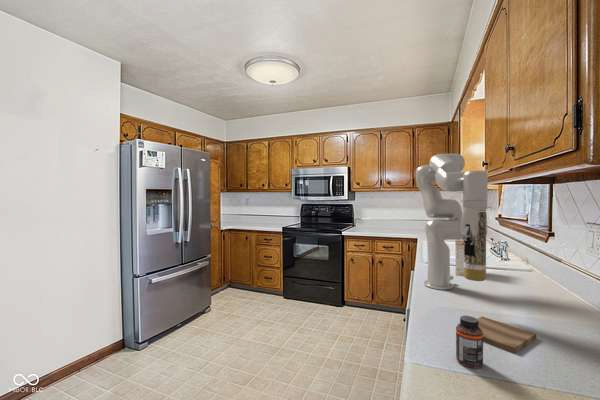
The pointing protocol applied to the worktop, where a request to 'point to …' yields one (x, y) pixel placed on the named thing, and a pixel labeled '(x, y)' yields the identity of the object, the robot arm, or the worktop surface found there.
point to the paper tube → (477, 253)
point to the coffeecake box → (459, 257)
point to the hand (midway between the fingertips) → (474, 254)
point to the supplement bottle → (469, 342)
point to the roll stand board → (505, 335)
